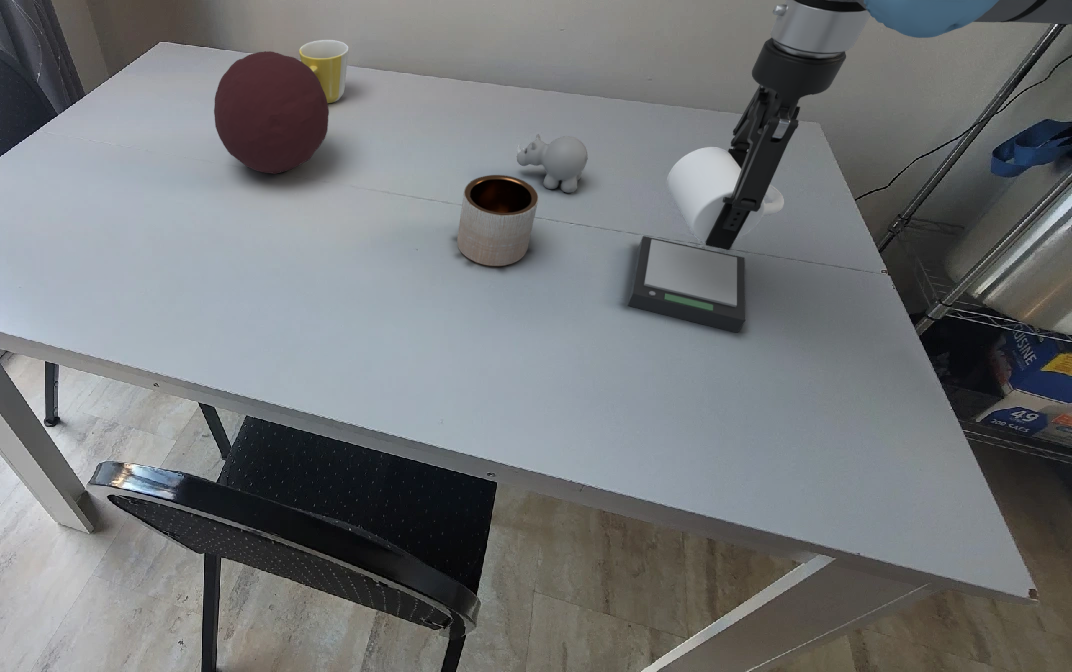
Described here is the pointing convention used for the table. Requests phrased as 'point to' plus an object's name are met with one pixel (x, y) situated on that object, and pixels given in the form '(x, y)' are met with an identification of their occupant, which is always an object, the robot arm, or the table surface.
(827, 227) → the table surface
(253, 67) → the decorative sphere
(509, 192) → the planter
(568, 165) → the chubby cartoon animal
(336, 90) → the mug
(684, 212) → the mug
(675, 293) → the scale
